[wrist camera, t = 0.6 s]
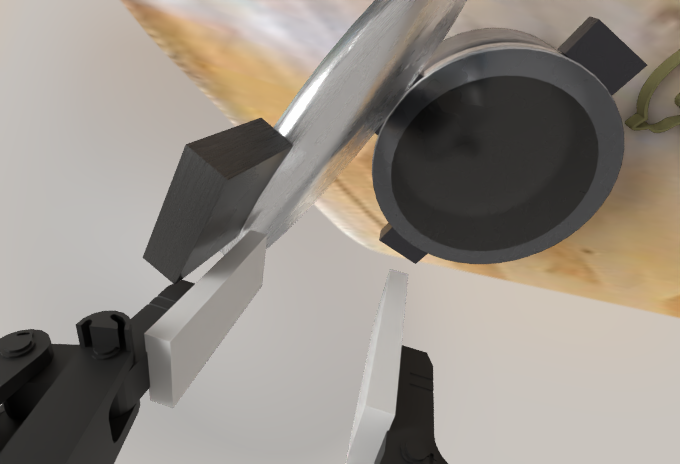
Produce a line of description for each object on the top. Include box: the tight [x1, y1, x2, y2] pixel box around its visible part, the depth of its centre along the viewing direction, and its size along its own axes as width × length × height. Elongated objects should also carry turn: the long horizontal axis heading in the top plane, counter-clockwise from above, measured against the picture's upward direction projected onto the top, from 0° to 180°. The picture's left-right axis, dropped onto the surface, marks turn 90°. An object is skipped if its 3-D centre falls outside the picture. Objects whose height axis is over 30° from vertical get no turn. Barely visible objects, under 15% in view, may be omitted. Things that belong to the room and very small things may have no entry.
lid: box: [143, 0, 467, 284], centre depth 20 cm, size 20×23×2 cm
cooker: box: [372, 17, 647, 264], centre depth 36 cm, size 25×22×11 cm
